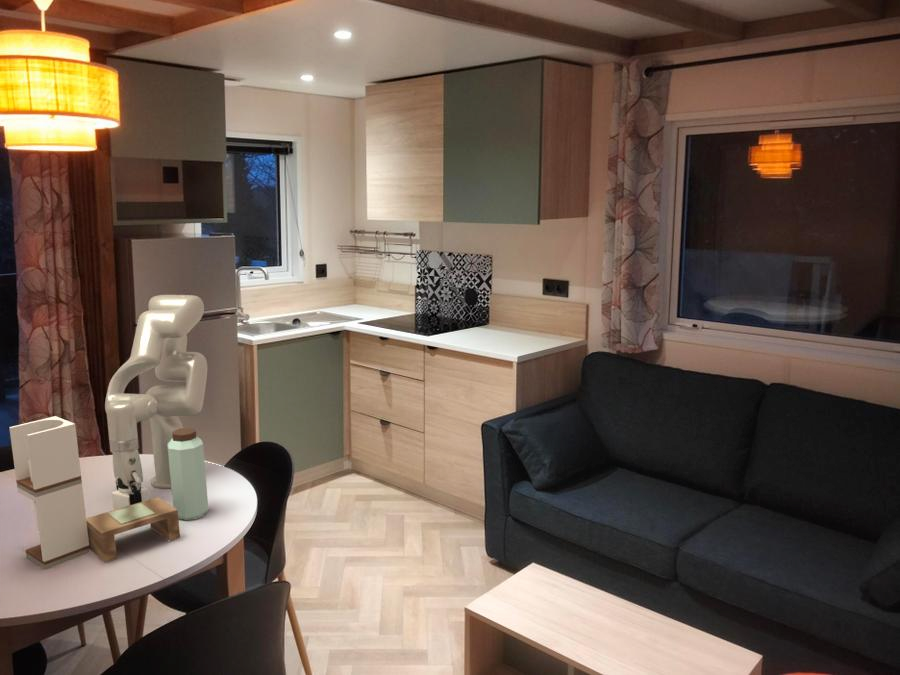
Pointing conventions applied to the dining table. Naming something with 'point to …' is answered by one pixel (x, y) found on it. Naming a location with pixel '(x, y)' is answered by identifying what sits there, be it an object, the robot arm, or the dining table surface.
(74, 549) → the white tower
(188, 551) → the dining table surface
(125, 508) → the bench shelf
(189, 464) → the water bottle
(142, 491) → the medicine bottle
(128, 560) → the dining table surface
